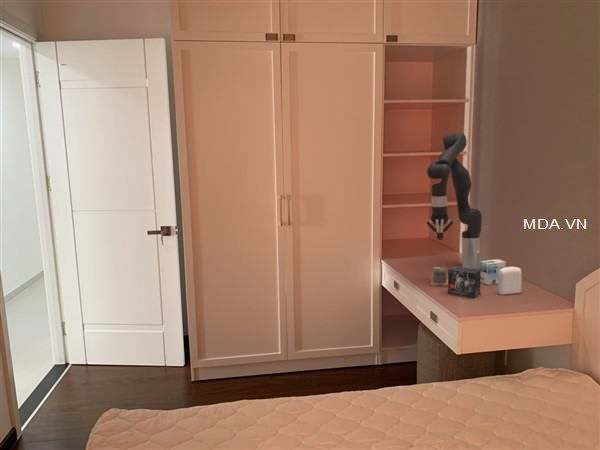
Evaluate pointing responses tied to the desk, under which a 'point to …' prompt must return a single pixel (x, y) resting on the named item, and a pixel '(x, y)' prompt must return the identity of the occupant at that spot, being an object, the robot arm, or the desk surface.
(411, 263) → the desk surface
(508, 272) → the photo printer
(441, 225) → the robot arm
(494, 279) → the light bulb box
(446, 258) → the desk surface
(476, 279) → the small box
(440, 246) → the desk surface
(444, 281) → the knob
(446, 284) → the shaft base
